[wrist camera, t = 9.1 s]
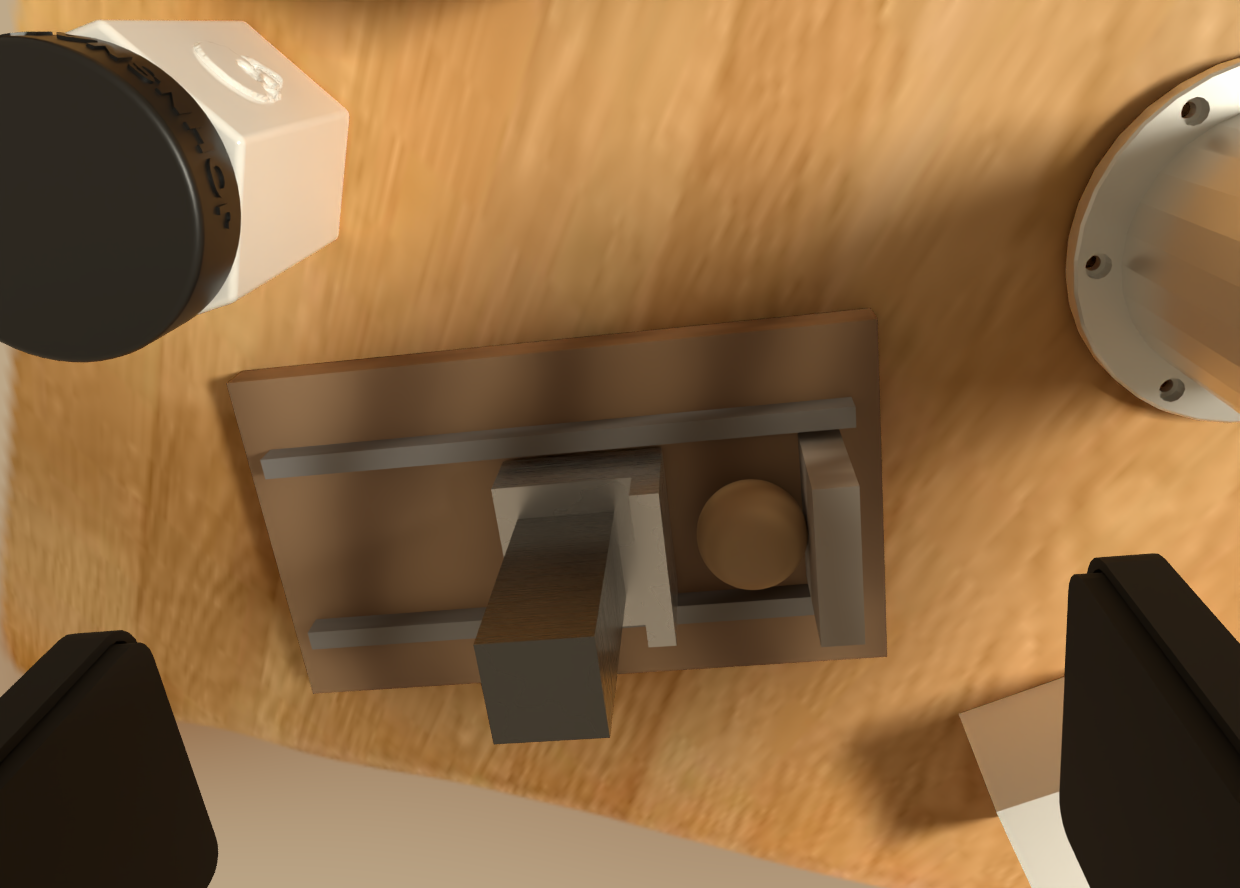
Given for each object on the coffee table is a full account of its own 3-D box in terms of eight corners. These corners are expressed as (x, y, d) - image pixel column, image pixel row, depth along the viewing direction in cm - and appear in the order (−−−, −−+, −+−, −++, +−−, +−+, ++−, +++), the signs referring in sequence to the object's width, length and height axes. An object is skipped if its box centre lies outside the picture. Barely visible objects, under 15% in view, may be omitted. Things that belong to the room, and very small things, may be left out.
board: (870, 308, 37) (904, 363, 31) (880, 635, 42) (911, 736, 36) (242, 370, 40) (162, 432, 34) (324, 672, 45) (268, 772, 39)
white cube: (1004, 813, 46) (1047, 923, 40) (957, 712, 44) (995, 812, 38) (1140, 769, 44) (1204, 877, 39) (1097, 663, 42) (1158, 759, 37)
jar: (405, 150, 36) (279, 207, 25) (279, 316, 39) (113, 434, 28) (194, -33, 34) (-44, -60, 23) (76, 154, 37) (-188, 210, 26)
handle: (661, 447, 38) (651, 593, 28) (677, 588, 40) (673, 768, 30) (503, 461, 38) (439, 608, 29) (527, 599, 41) (476, 779, 31)
